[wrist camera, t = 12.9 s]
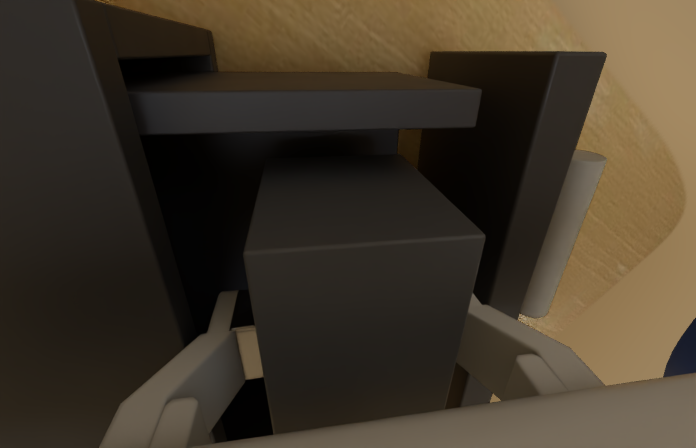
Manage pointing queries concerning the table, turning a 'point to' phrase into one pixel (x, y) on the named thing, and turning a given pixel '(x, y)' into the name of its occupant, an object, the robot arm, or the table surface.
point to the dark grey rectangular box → (356, 289)
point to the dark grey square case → (83, 219)
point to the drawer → (378, 139)
